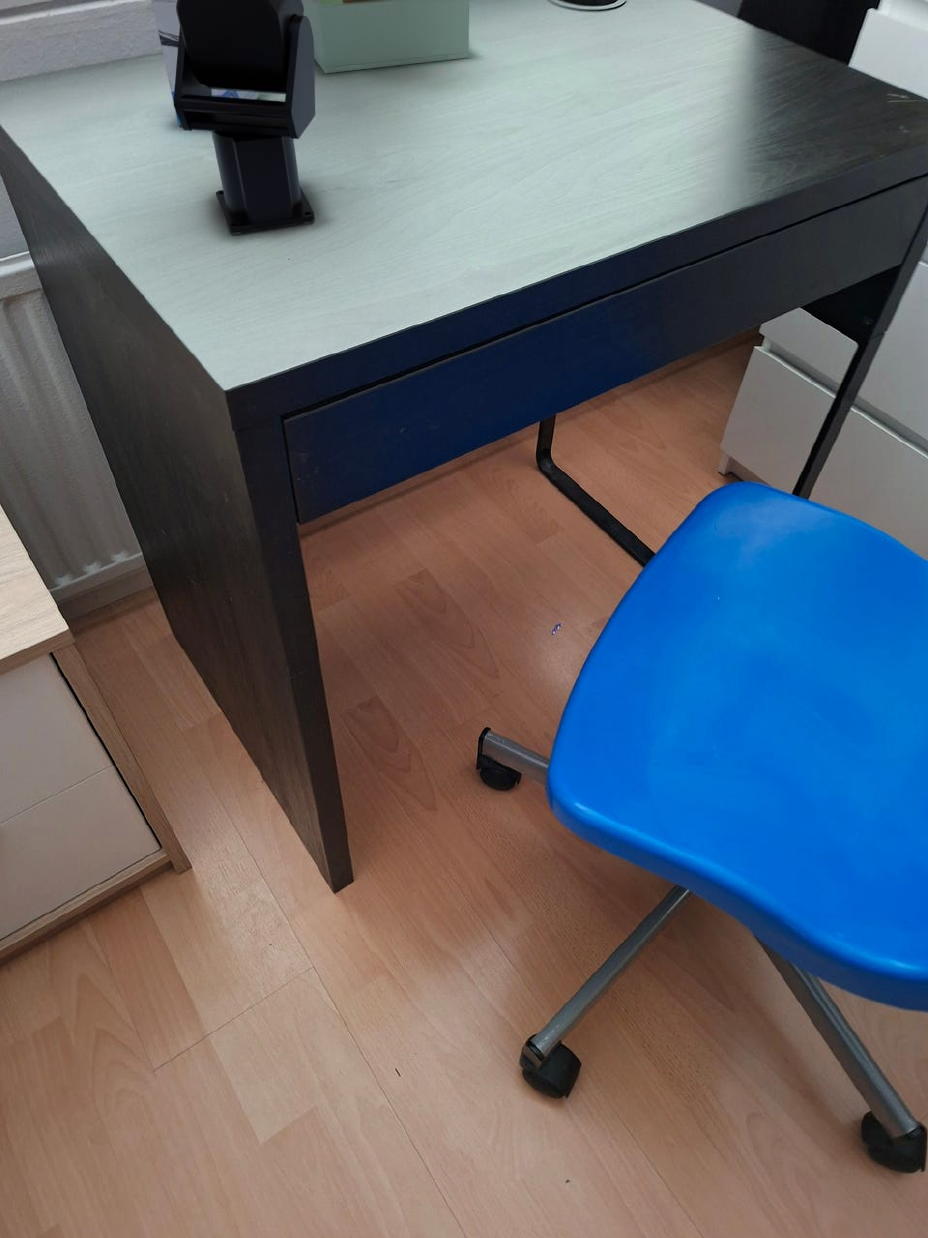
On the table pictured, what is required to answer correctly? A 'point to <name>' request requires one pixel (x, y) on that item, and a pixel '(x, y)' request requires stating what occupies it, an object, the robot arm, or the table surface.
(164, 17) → the ink box
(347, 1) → the pepper mill
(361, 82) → the table surface
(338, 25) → the tub
